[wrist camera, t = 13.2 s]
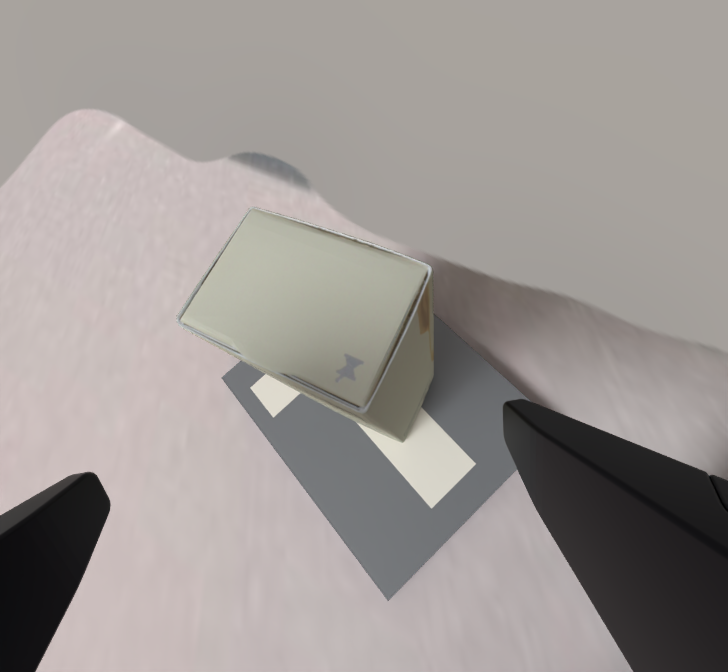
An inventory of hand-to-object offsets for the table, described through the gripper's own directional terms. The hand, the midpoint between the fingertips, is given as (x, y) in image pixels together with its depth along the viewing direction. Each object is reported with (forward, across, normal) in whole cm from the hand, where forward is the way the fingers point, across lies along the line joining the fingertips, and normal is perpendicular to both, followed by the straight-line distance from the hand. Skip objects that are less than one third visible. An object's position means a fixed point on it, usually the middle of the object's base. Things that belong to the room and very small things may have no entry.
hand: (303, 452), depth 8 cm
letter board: (+12, -2, +6) cm, 14 cm away
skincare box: (+12, -2, +5) cm, 13 cm away
